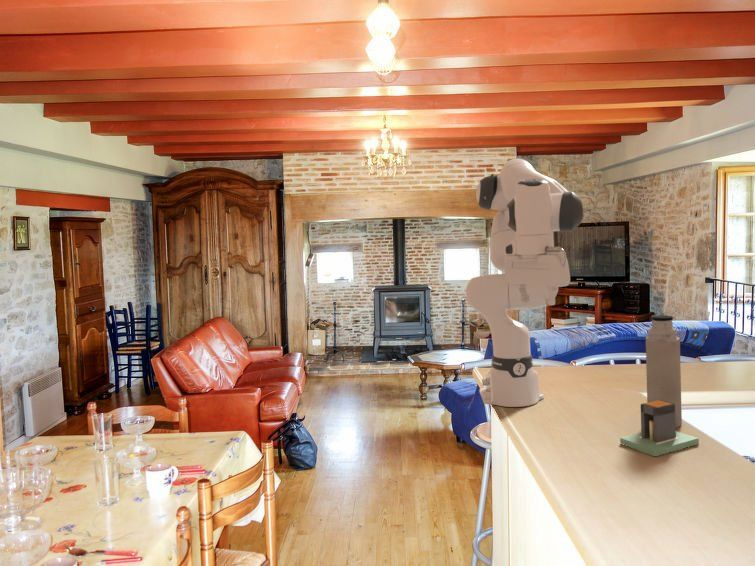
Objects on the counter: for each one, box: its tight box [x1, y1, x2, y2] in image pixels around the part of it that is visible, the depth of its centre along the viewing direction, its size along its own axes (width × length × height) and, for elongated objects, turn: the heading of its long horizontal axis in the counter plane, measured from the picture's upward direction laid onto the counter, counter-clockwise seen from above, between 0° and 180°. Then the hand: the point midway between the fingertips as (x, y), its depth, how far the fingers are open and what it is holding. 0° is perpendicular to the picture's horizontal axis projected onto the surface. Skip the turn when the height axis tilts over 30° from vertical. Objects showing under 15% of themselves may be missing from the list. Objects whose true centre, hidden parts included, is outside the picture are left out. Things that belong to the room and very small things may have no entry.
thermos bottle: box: [645, 314, 683, 428], centre depth 155 cm, size 8×8×28 cm
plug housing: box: [640, 400, 677, 443], centre depth 142 cm, size 6×4×8 cm
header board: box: [619, 420, 700, 457], centre depth 142 cm, size 14×10×6 cm
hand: (537, 303), depth 147 cm, fingers open, 8 cm apart
